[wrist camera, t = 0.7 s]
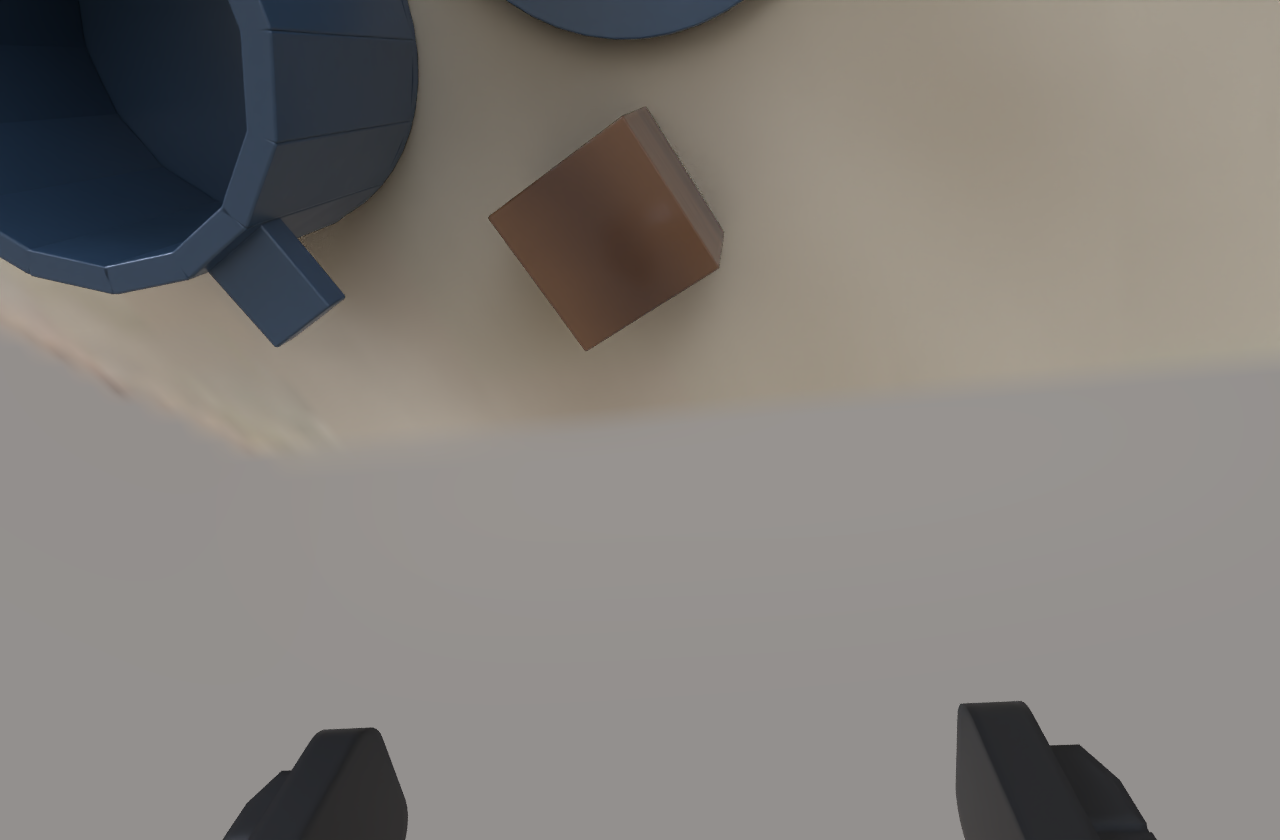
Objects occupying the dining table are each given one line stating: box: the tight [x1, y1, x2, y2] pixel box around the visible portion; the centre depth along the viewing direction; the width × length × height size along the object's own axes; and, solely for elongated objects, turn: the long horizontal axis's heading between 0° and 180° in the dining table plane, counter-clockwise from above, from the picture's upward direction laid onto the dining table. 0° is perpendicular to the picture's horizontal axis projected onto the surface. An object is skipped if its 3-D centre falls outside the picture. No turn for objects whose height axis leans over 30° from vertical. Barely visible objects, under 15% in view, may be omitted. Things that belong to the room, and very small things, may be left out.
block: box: [488, 107, 724, 351], centre depth 23 cm, size 5×5×5 cm
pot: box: [0, 0, 418, 347], centre depth 21 cm, size 13×18×8 cm
